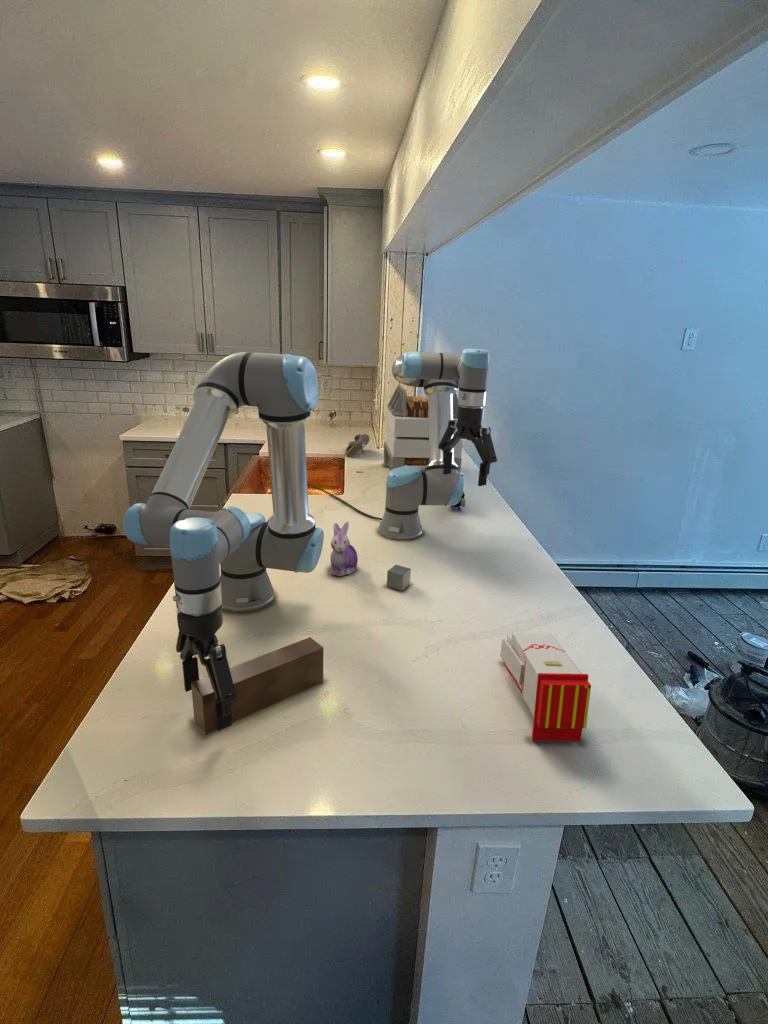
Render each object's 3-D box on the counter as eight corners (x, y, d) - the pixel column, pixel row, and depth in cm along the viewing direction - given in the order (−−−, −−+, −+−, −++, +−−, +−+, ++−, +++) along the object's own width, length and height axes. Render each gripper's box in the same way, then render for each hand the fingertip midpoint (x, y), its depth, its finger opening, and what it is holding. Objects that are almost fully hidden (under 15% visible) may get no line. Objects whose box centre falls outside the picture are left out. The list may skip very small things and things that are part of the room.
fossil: (345, 440, 316) (366, 424, 311) (356, 453, 319) (377, 438, 314) (339, 453, 297) (361, 437, 292) (350, 467, 300) (373, 452, 295)
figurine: (335, 579, 164) (336, 531, 159) (322, 565, 172) (322, 519, 167) (364, 574, 168) (366, 527, 163) (350, 560, 177) (351, 515, 172)
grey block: (386, 586, 162) (387, 570, 160) (394, 579, 166) (395, 564, 164) (402, 591, 160) (403, 575, 158) (410, 584, 164) (411, 568, 162)
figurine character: (465, 515, 224) (460, 499, 237) (467, 498, 221) (462, 483, 234) (448, 515, 224) (444, 499, 237) (450, 498, 220) (445, 482, 234)
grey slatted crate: (382, 463, 289) (386, 382, 275) (445, 464, 293) (451, 384, 279) (390, 482, 257) (394, 392, 243) (460, 483, 261) (468, 394, 247)
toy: (548, 616, 130) (600, 681, 101) (542, 669, 133) (592, 748, 104) (495, 615, 130) (533, 680, 101) (491, 669, 133) (526, 747, 103)
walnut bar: (205, 735, 103) (202, 696, 101) (194, 720, 107) (190, 682, 104) (323, 682, 120) (323, 647, 117) (310, 670, 123) (310, 636, 120)
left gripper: (151, 585, 105) (162, 681, 112) (210, 646, 87) (218, 755, 94) (190, 574, 109) (198, 667, 117) (254, 630, 92) (258, 735, 99)
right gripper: (429, 400, 165) (424, 471, 172) (497, 414, 147) (489, 492, 154) (447, 399, 169) (442, 467, 176) (515, 412, 152) (506, 488, 159)
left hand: (207, 707), depth 105 cm, fingers open, 13 cm apart
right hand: (464, 479), depth 165 cm, fingers open, 13 cm apart
